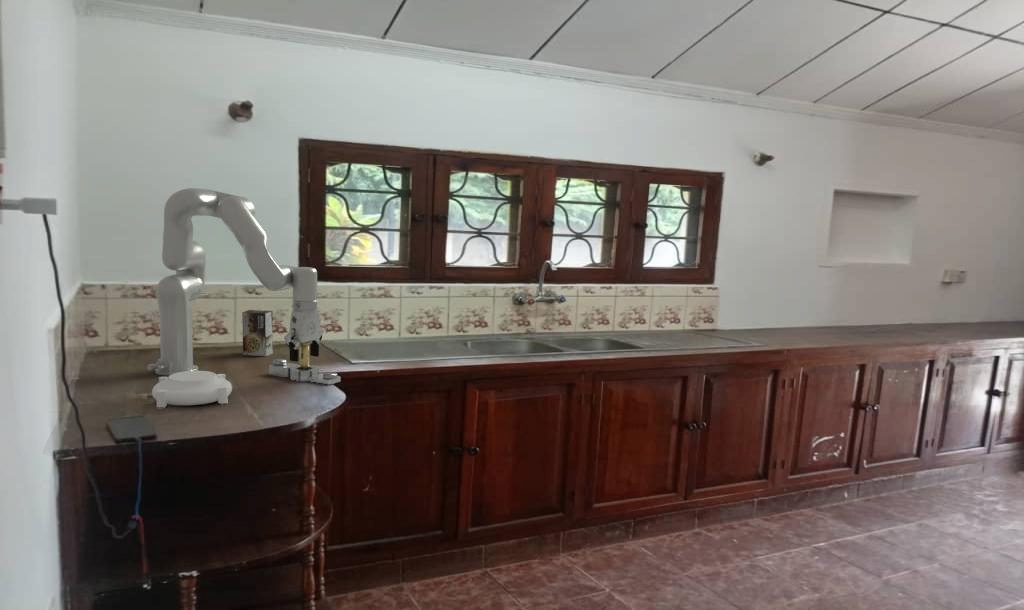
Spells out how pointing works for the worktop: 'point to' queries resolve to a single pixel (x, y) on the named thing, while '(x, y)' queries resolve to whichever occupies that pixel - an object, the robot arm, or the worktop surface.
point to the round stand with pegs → (191, 388)
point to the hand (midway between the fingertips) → (304, 358)
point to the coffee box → (257, 332)
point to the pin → (304, 355)
